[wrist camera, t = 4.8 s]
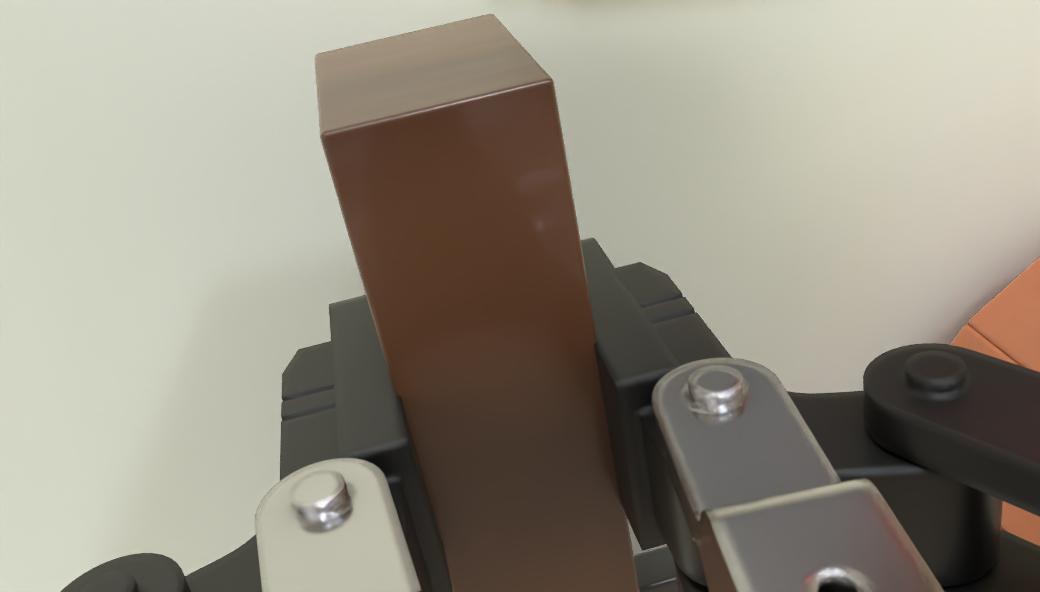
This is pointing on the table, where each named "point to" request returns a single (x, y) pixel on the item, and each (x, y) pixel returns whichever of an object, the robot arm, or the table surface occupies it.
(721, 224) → the table surface
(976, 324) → the bowl
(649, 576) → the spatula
